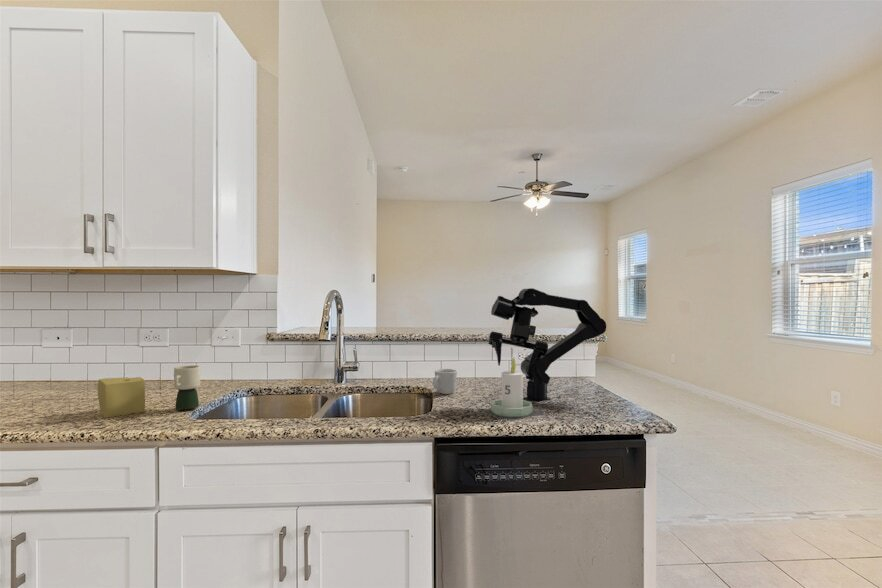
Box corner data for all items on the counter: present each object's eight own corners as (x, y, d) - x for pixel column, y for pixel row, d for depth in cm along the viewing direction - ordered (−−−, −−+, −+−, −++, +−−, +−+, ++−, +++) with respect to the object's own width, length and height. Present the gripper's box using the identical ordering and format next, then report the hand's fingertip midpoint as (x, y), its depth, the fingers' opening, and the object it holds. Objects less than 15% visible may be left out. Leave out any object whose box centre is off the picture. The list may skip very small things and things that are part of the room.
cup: (443, 398, 151) (443, 374, 151) (425, 394, 156) (425, 372, 156) (461, 392, 160) (461, 370, 160) (443, 389, 165) (443, 368, 165)
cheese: (138, 406, 140) (138, 374, 140) (146, 412, 132) (146, 379, 132) (97, 412, 133) (97, 379, 133) (103, 419, 125) (103, 384, 125)
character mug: (187, 404, 142) (187, 364, 142) (208, 405, 141) (208, 364, 141) (163, 413, 131) (163, 369, 131) (186, 414, 130) (186, 370, 130)
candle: (497, 409, 131) (497, 358, 131) (506, 404, 136) (506, 356, 136) (517, 412, 127) (517, 360, 127) (526, 407, 133) (526, 357, 133)
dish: (511, 404, 140) (511, 396, 140) (540, 413, 130) (540, 404, 130) (483, 410, 133) (482, 402, 133) (511, 419, 123) (511, 410, 123)
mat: (511, 405, 141) (511, 404, 141) (543, 414, 130) (543, 413, 130) (480, 411, 133) (480, 410, 133) (511, 421, 123) (511, 420, 123)
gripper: (494, 308, 141) (485, 354, 134) (554, 320, 138) (547, 367, 131) (492, 321, 151) (483, 365, 144) (548, 333, 148) (541, 377, 141)
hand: (513, 368), depth 140 cm, fingers open, 9 cm apart
